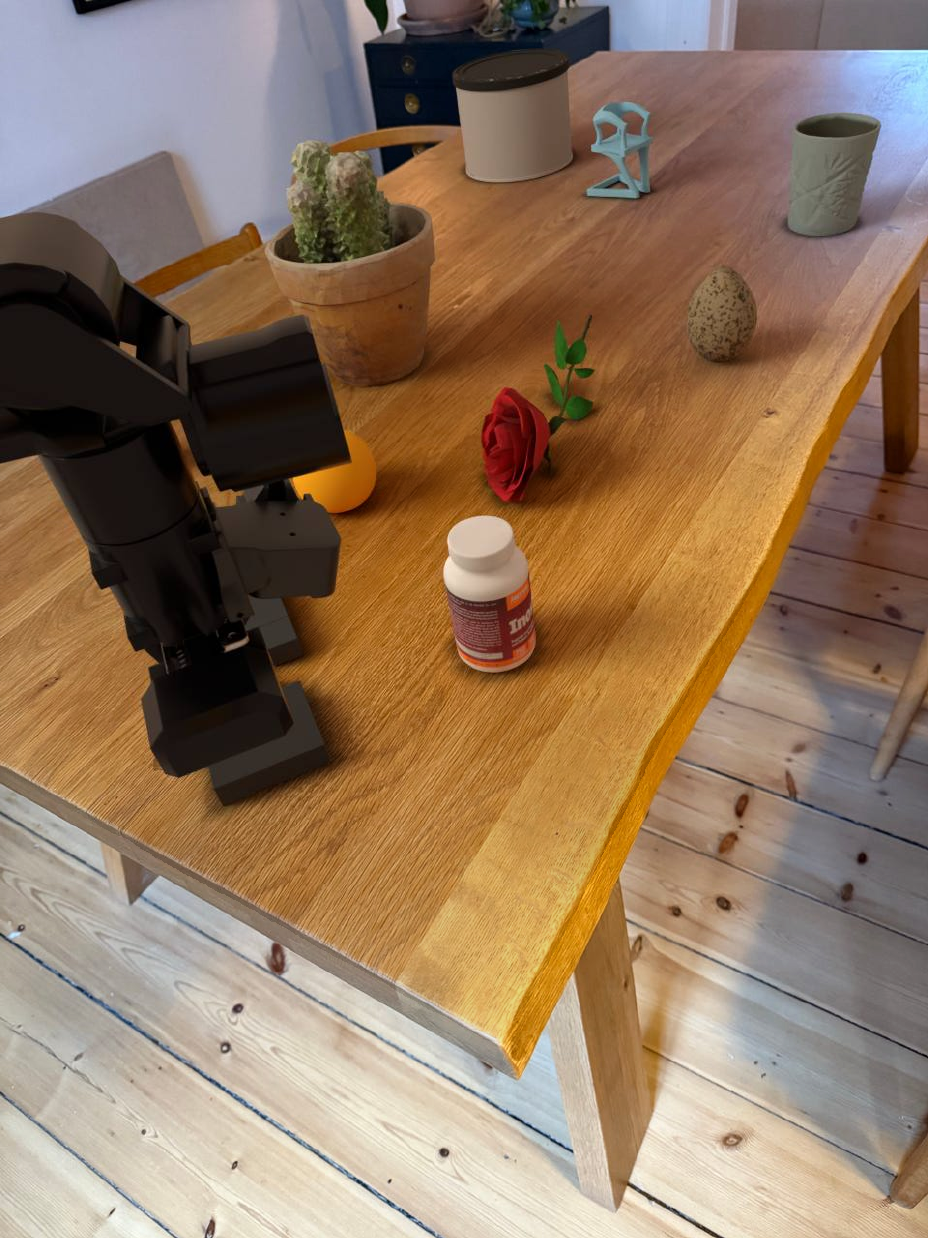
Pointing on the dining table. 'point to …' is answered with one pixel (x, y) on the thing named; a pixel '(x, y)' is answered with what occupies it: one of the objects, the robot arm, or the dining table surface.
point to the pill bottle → (489, 595)
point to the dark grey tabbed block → (273, 754)
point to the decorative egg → (721, 315)
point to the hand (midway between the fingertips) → (241, 721)
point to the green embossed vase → (829, 171)
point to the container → (515, 114)
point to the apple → (342, 479)
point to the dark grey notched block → (275, 629)
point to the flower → (530, 424)
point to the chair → (622, 150)
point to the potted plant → (355, 266)
